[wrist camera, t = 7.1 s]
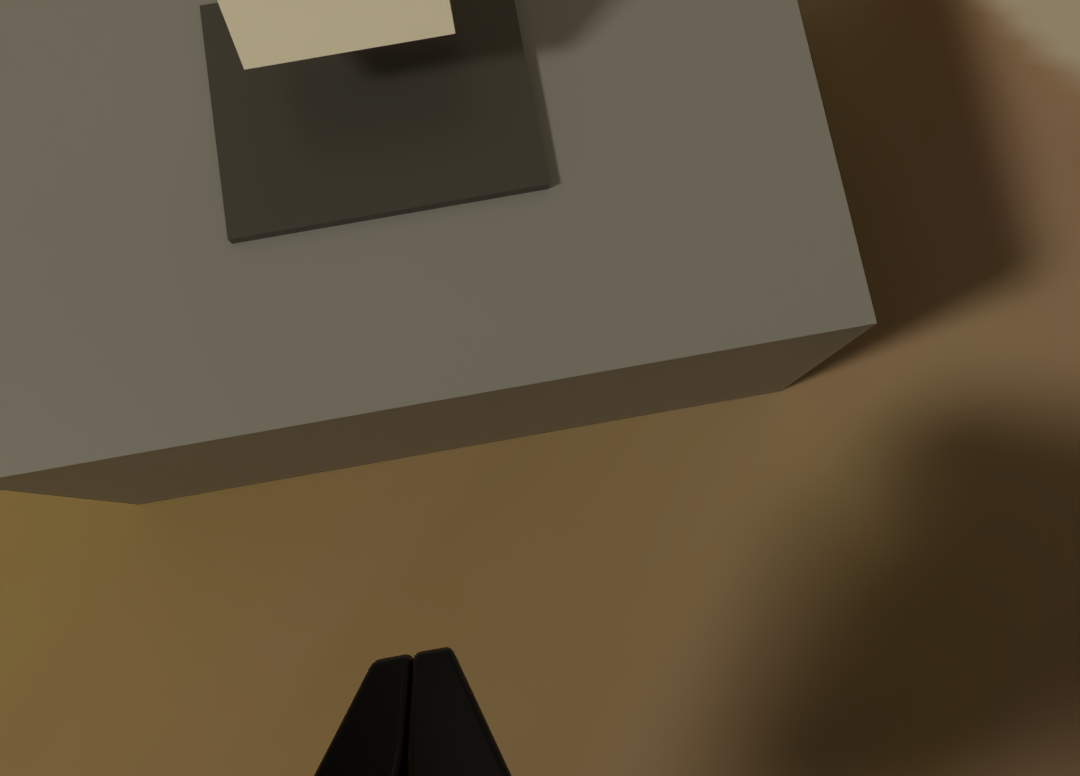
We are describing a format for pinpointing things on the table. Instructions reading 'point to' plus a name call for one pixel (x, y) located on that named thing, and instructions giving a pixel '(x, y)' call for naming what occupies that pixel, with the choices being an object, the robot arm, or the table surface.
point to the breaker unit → (400, 235)
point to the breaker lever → (328, 26)
